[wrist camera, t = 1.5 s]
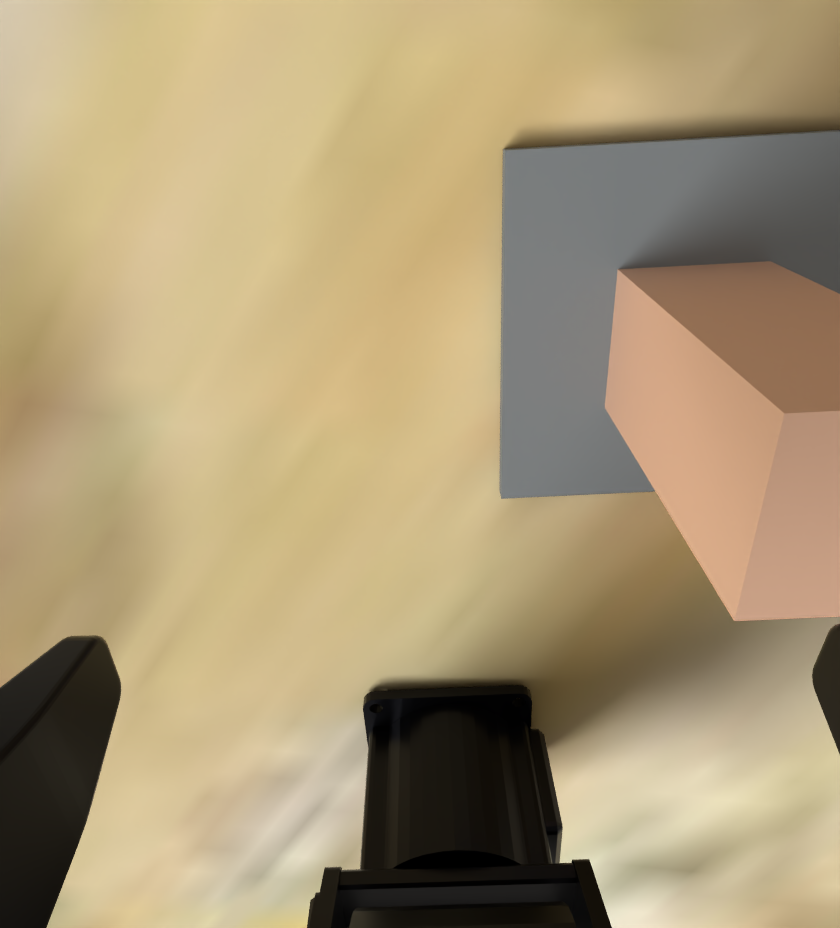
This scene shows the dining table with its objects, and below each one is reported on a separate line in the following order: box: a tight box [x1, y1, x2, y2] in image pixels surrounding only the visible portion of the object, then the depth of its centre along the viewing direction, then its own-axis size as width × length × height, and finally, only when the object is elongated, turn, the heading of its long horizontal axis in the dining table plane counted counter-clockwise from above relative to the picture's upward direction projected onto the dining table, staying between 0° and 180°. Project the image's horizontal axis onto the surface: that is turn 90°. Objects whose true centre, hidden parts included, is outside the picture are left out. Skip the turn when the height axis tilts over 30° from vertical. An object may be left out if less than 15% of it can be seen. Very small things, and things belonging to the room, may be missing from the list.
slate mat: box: [500, 130, 840, 499], centre depth 19 cm, size 16×10×1 cm, turn 93°
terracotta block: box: [605, 261, 840, 621], centre depth 14 cm, size 4×4×9 cm
